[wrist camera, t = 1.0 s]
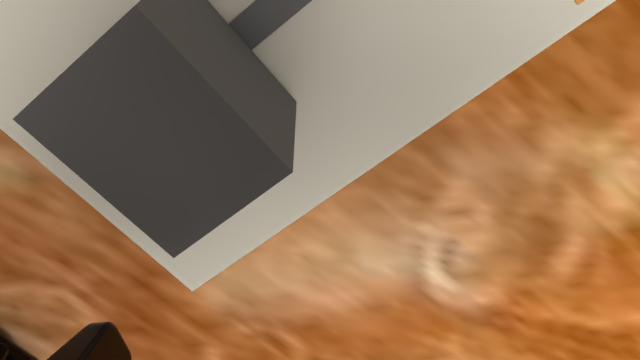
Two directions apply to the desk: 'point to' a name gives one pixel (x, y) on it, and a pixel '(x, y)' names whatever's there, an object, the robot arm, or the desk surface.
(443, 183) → the desk surface
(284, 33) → the block
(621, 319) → the desk surface
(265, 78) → the block
